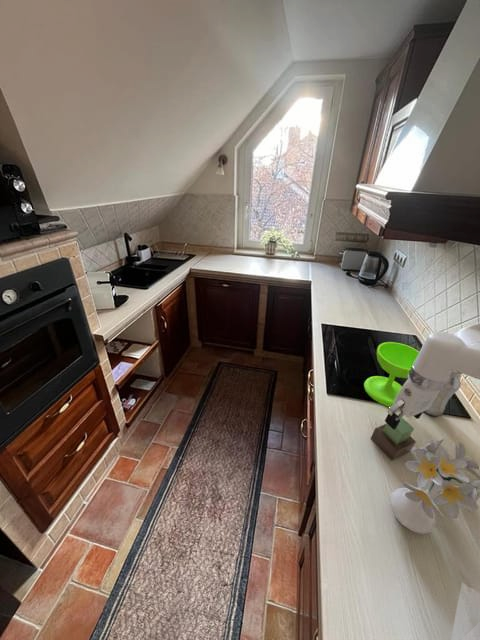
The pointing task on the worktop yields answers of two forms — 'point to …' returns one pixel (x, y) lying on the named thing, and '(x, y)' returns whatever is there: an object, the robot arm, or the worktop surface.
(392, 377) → the wineglass
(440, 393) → the plastic bottle
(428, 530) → the flower vase
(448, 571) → the worktop surface
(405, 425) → the green block
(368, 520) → the worktop surface
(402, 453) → the walnut block
